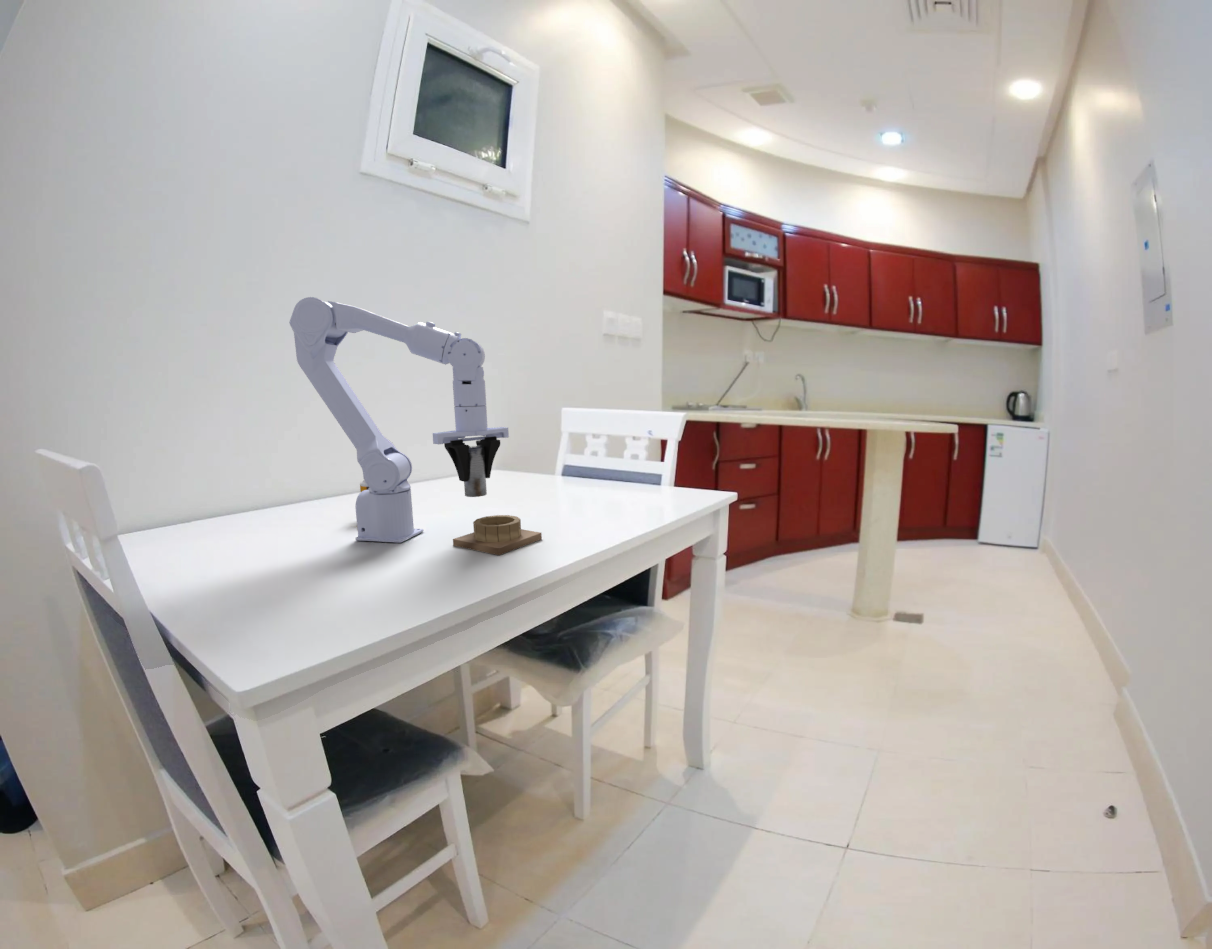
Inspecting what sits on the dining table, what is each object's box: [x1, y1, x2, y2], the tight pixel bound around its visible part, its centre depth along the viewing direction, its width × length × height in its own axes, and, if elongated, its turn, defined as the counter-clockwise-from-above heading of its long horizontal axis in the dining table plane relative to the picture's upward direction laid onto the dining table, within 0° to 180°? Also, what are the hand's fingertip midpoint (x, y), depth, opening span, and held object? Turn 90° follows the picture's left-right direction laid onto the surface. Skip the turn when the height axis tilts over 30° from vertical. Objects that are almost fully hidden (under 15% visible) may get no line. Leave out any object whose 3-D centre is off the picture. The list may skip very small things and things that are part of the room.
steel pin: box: [463, 445, 488, 498], centre depth 104 cm, size 4×4×9 cm
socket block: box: [452, 514, 543, 556], centre depth 100 cm, size 11×11×4 cm
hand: (474, 479), depth 105 cm, fingers closed on steel pin, 4 cm apart
